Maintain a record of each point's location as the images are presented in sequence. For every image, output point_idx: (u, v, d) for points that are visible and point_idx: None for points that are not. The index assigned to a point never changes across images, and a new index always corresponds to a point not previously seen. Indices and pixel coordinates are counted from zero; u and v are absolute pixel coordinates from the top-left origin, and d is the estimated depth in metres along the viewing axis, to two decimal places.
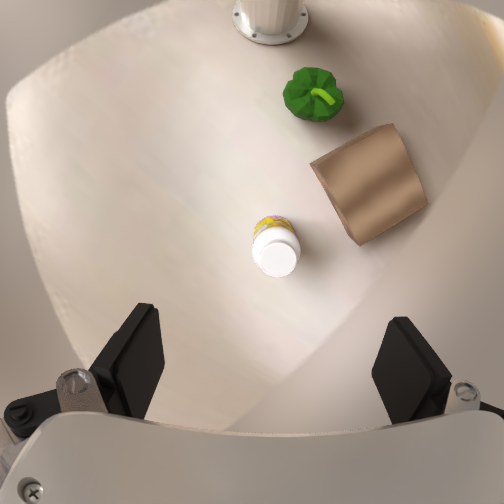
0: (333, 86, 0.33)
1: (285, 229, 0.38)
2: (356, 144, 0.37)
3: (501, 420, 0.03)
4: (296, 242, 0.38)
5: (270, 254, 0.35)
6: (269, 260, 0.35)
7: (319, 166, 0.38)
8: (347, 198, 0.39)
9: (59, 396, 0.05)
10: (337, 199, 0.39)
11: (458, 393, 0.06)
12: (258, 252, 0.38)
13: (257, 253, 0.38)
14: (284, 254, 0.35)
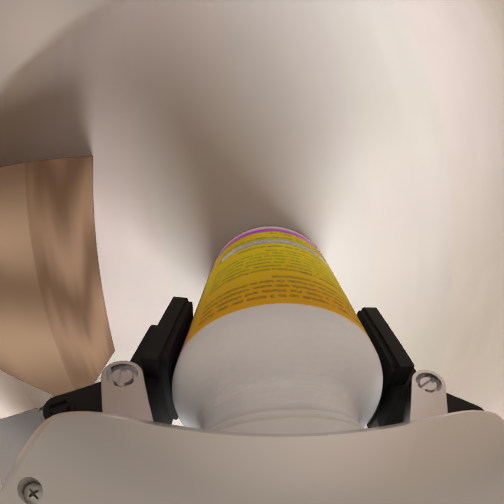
0: None
1: None
2: (11, 374, 0.13)
3: (501, 420, 0.03)
4: (179, 410, 0.07)
5: None
6: None
7: None
8: (28, 312, 0.11)
9: (107, 389, 0.06)
10: (48, 328, 0.11)
11: (421, 384, 0.07)
12: None
13: None
14: None
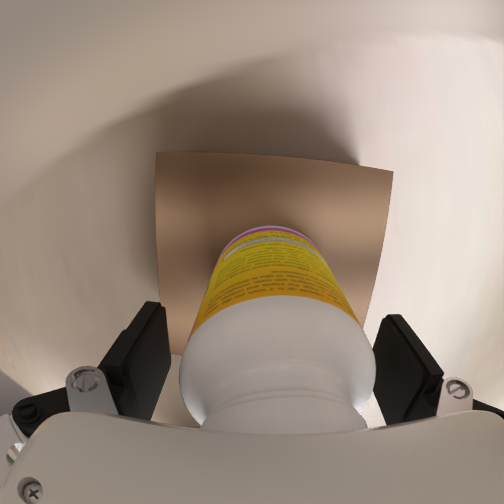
0: None
1: None
2: None
3: (501, 420, 0.03)
4: (186, 397, 0.08)
5: None
6: None
7: None
8: (353, 286, 0.17)
9: (69, 394, 0.05)
10: (369, 295, 0.18)
11: (450, 391, 0.06)
12: None
13: None
14: None
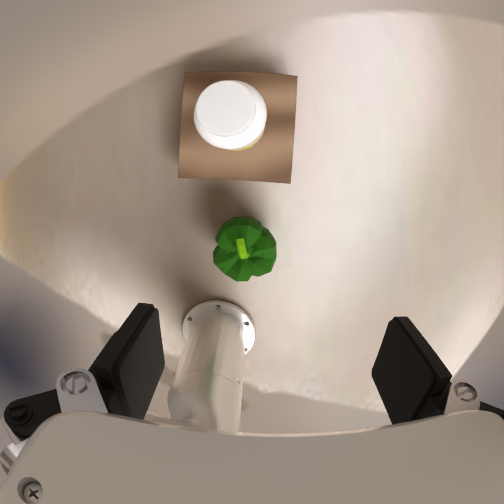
0: (222, 249, 0.36)
1: None
2: (235, 178, 0.34)
3: (501, 420, 0.03)
4: (196, 112, 0.23)
5: (229, 121, 0.20)
6: (236, 114, 0.20)
7: (289, 180, 0.34)
8: (281, 130, 0.32)
9: (59, 396, 0.05)
10: (292, 137, 0.32)
11: (458, 393, 0.06)
12: (250, 129, 0.23)
13: (252, 128, 0.23)
14: (211, 110, 0.20)
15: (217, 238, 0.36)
